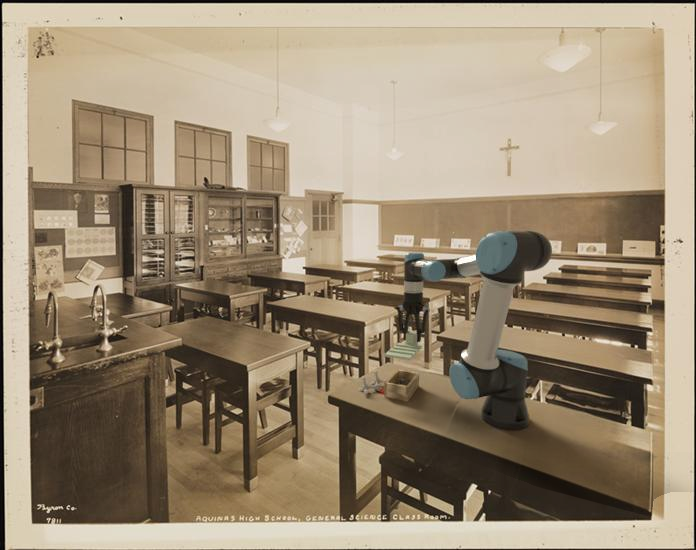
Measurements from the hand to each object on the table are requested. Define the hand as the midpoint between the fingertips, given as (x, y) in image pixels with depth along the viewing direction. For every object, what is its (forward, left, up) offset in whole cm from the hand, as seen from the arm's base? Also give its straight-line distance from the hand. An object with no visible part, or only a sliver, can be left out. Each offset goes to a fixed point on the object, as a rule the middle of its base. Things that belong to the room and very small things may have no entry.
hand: (411, 348), depth 165 cm
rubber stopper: (+1, +7, -14) cm, 15 cm away
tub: (0, +11, -15) cm, 18 cm away
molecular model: (+10, +14, -15) cm, 23 cm away
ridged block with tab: (0, +8, +2) cm, 8 cm away
